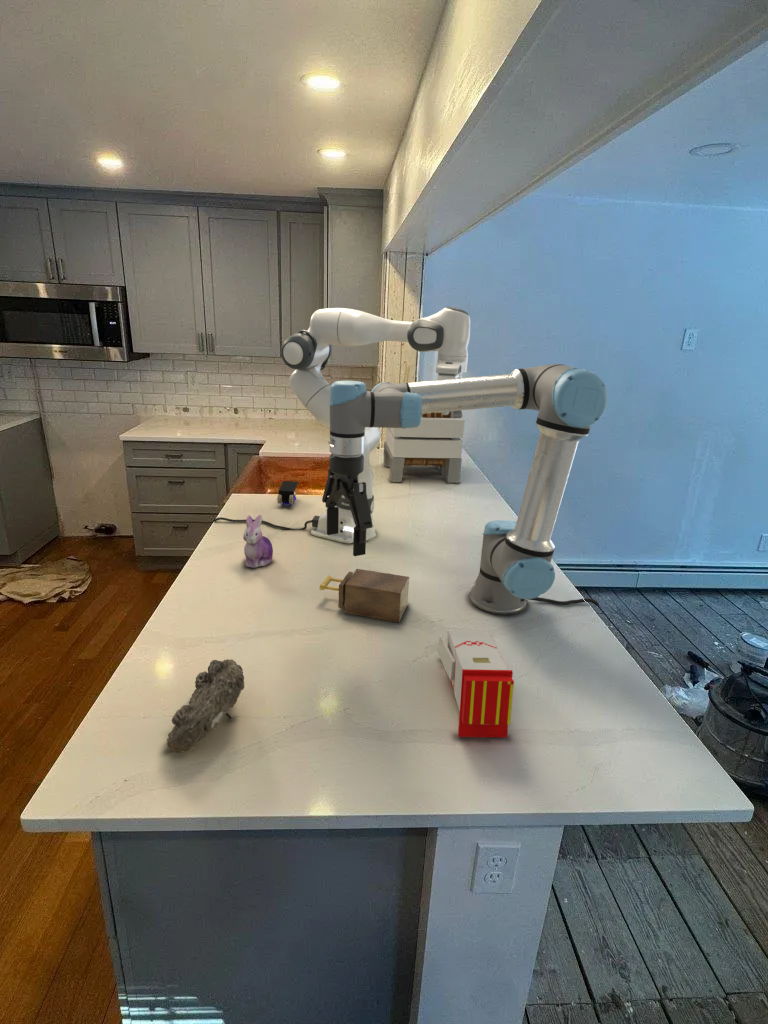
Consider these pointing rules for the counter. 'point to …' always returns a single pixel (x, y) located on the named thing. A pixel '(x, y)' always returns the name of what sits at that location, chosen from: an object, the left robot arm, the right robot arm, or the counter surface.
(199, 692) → the fossil
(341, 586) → the drawer
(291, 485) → the figurine character
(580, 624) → the counter surface
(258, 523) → the figurine
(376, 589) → the wooden drawer cabinet
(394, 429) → the transformer
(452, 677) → the toy
